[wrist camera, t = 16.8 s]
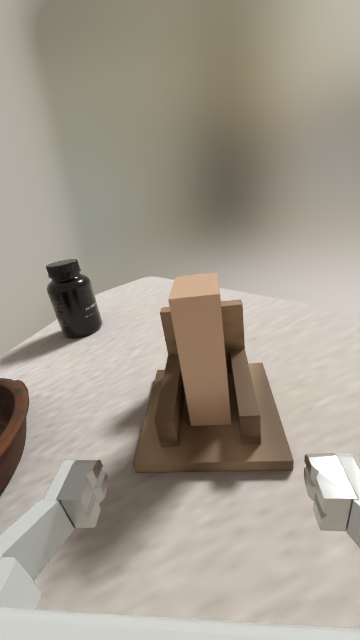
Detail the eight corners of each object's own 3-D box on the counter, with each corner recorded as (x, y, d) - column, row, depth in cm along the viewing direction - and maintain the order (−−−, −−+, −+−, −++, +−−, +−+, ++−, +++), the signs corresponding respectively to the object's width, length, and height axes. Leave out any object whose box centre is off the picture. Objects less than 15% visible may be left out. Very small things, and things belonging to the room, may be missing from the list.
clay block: (227, 385, 28) (217, 272, 23) (231, 424, 23) (219, 293, 18) (193, 387, 28) (175, 277, 23) (191, 425, 24) (168, 299, 19)
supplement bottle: (104, 331, 46) (83, 261, 41) (62, 343, 44) (35, 272, 39) (101, 317, 52) (82, 254, 47) (64, 327, 50) (40, 263, 45)
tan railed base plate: (262, 370, 31) (261, 296, 27) (292, 469, 20) (297, 370, 16) (159, 377, 32) (143, 308, 28) (135, 472, 22) (106, 383, 18)
